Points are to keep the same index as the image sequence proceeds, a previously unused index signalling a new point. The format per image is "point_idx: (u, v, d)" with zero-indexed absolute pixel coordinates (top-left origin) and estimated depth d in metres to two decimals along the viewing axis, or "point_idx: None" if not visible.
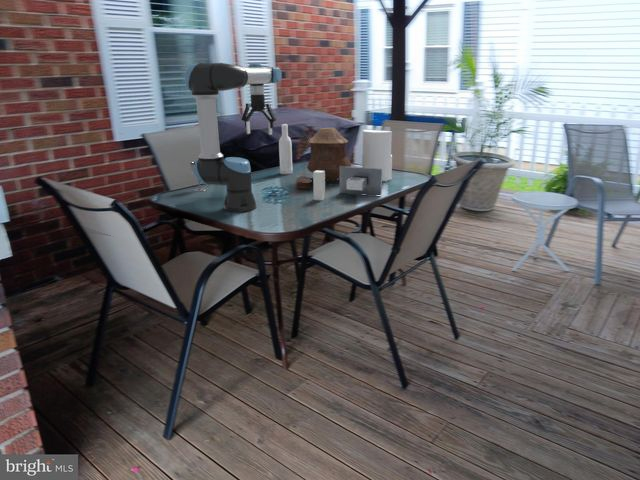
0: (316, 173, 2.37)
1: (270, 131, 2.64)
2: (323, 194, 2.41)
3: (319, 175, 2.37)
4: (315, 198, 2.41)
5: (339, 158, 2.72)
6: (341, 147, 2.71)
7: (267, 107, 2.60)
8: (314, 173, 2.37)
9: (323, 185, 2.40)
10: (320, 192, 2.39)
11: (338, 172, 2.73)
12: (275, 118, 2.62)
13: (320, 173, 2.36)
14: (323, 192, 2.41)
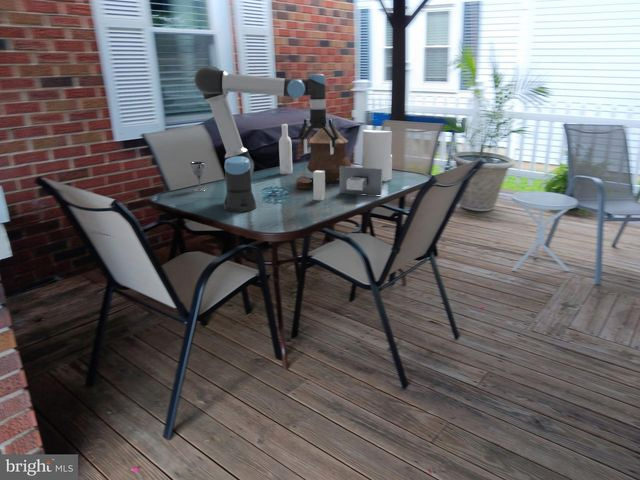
0: (316, 173, 2.37)
1: (332, 150, 2.32)
2: (323, 194, 2.41)
3: (319, 175, 2.37)
4: (315, 198, 2.41)
5: (339, 158, 2.72)
6: (341, 147, 2.71)
7: (329, 123, 2.28)
8: (314, 173, 2.37)
9: (323, 185, 2.40)
10: (320, 192, 2.39)
11: (338, 172, 2.73)
12: (338, 136, 2.30)
13: (320, 173, 2.36)
14: (323, 192, 2.41)
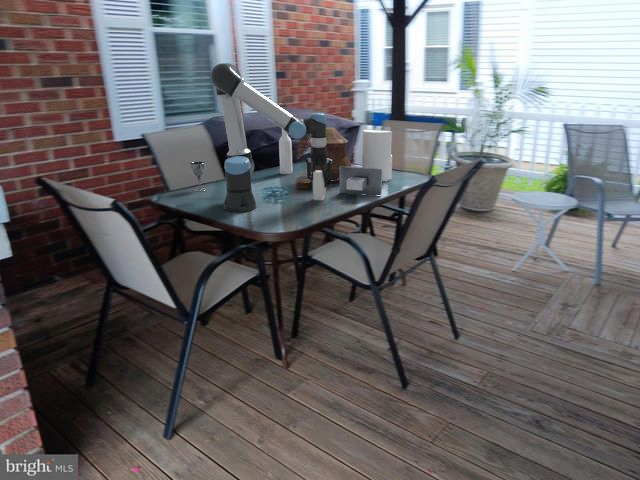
0: (316, 173, 2.37)
1: (324, 190, 2.40)
2: (323, 194, 2.41)
3: (319, 175, 2.37)
4: (315, 198, 2.41)
5: (339, 158, 2.72)
6: (341, 147, 2.71)
7: (328, 164, 2.34)
8: (314, 173, 2.37)
9: None
10: (320, 192, 2.39)
11: (338, 172, 2.73)
12: (330, 177, 2.38)
13: (320, 173, 2.36)
14: None
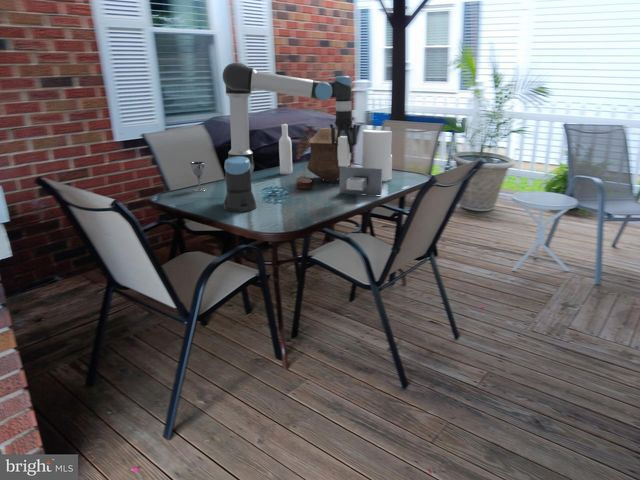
0: (341, 138, 2.32)
1: (349, 156, 2.35)
2: (348, 160, 2.37)
3: (344, 140, 2.32)
4: (339, 164, 2.37)
5: None
6: None
7: (353, 128, 2.29)
8: (339, 138, 2.32)
9: None
10: (345, 158, 2.35)
11: (338, 172, 2.73)
12: None
13: (345, 138, 2.31)
14: None
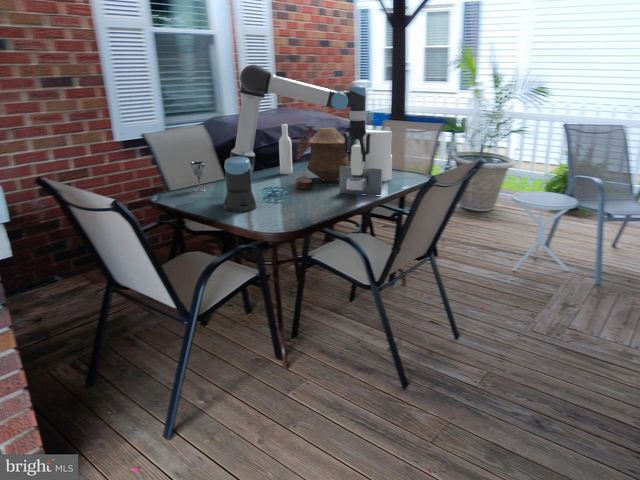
0: (354, 147, 2.34)
1: (362, 165, 2.37)
2: (361, 169, 2.39)
3: (357, 149, 2.34)
4: (352, 173, 2.39)
5: (339, 158, 2.72)
6: (341, 147, 2.71)
7: (367, 137, 2.31)
8: (353, 147, 2.34)
9: None
10: (358, 167, 2.37)
11: (338, 172, 2.73)
12: (369, 151, 2.35)
13: (359, 147, 2.33)
14: None
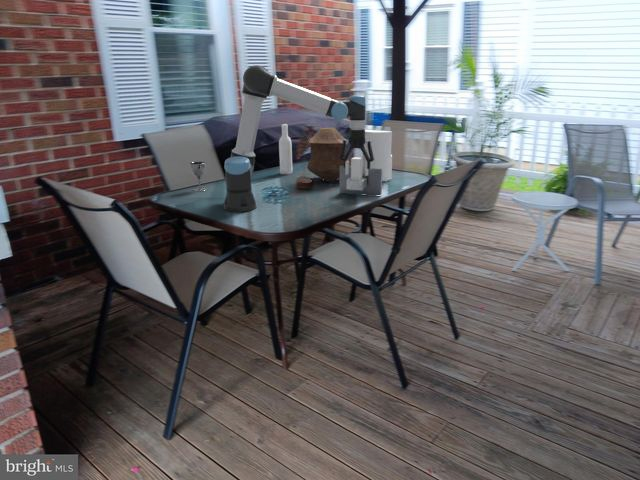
0: (354, 160, 2.36)
1: (367, 172, 2.38)
2: None
3: (357, 162, 2.36)
4: None
5: (339, 158, 2.72)
6: (341, 147, 2.71)
7: (368, 145, 2.32)
8: (352, 160, 2.36)
9: (360, 172, 2.39)
10: (358, 179, 2.39)
11: (338, 172, 2.73)
12: (373, 158, 2.36)
13: (358, 160, 2.35)
14: (360, 179, 2.40)
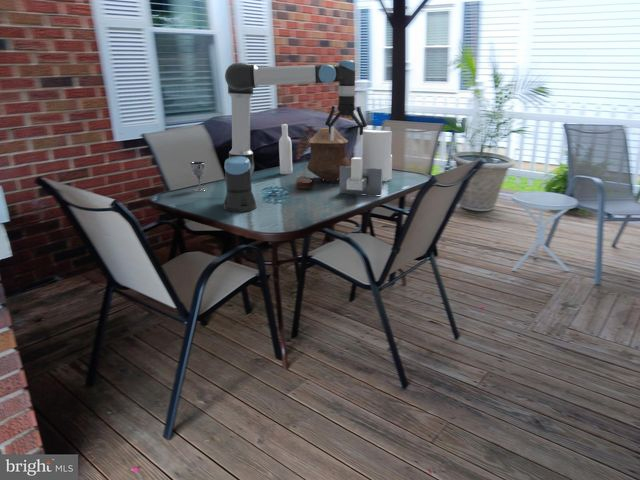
0: (354, 160, 2.36)
1: (359, 138, 2.30)
2: None
3: (357, 162, 2.36)
4: None
5: (339, 158, 2.72)
6: (341, 147, 2.71)
7: (358, 111, 2.26)
8: (352, 160, 2.36)
9: (360, 172, 2.39)
10: (358, 179, 2.39)
11: (338, 172, 2.73)
12: None
13: (358, 160, 2.35)
14: (360, 179, 2.40)
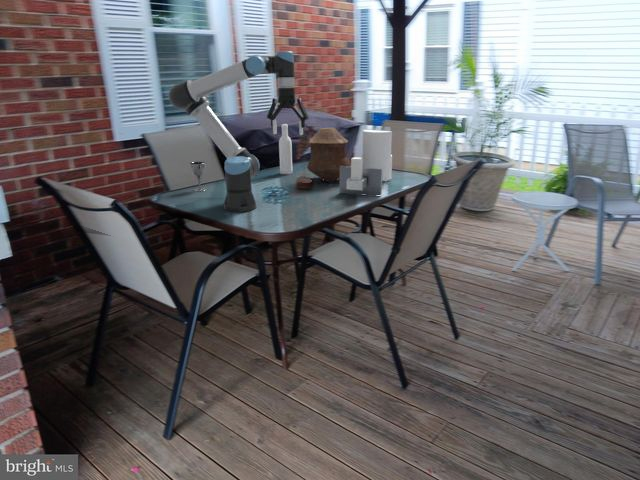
0: (354, 160, 2.36)
1: (301, 131, 2.25)
2: None
3: (357, 162, 2.36)
4: None
5: (339, 158, 2.72)
6: (341, 147, 2.71)
7: (298, 103, 2.20)
8: (352, 160, 2.36)
9: (360, 172, 2.39)
10: (358, 179, 2.39)
11: (338, 172, 2.73)
12: (307, 116, 2.23)
13: (358, 160, 2.35)
14: (360, 179, 2.40)
